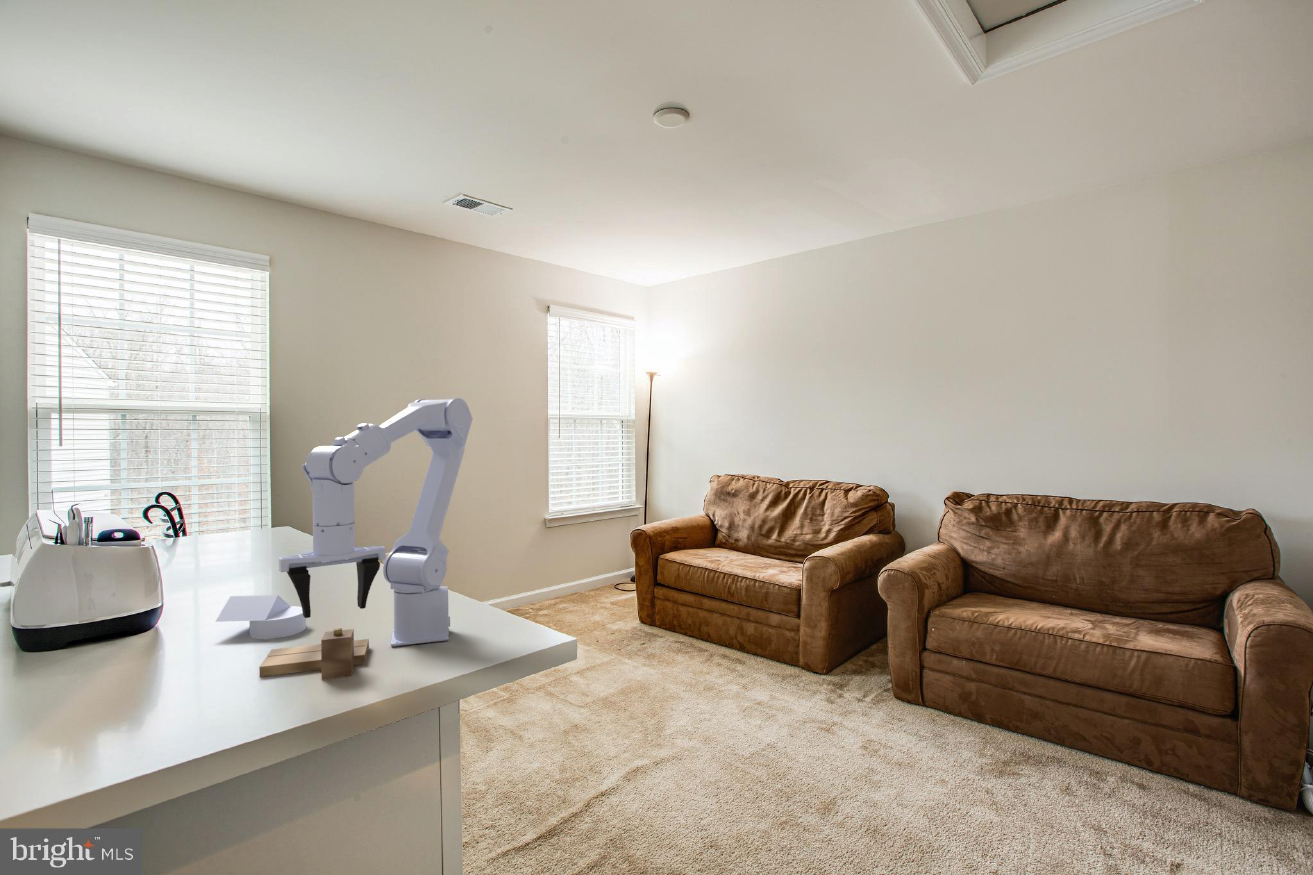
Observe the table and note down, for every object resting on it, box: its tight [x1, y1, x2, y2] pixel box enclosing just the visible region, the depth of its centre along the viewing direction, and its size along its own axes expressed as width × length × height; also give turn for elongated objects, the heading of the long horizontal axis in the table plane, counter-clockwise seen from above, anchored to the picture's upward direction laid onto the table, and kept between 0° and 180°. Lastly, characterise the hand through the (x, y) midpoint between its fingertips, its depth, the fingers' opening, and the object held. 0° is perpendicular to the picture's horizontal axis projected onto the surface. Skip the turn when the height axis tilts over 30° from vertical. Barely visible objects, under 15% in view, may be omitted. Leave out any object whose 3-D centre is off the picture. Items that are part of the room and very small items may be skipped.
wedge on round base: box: [215, 594, 307, 640], centre depth 116 cm, size 9×7×13 cm
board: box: [259, 638, 370, 678], centre depth 101 cm, size 14×8×2 cm, turn 110°
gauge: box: [320, 627, 355, 681], centre depth 98 cm, size 4×9×7 cm, turn 20°
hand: (334, 611), depth 96 cm, fingers open, 7 cm apart
